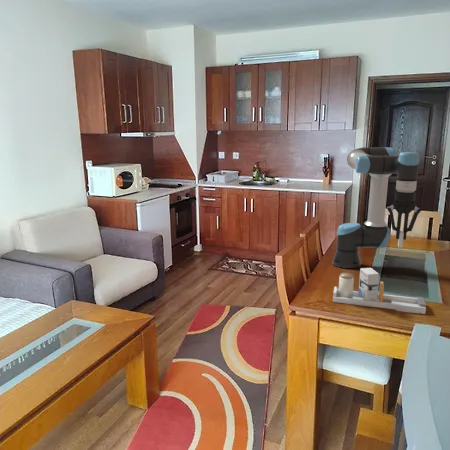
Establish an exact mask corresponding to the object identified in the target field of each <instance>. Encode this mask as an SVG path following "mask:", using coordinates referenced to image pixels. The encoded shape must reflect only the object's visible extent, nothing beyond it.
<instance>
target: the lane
mask: <svg viewBox="0 0 450 450" xmlns="http://www.w3.org/2000/svg"><path fill="white" fill-rule="evenodd" d="M338 292H339V288H338V286H334V287H333V293H332V294H333V295H332V302H333V303H337V304H338V303H339V304H348V305H357V306H363V307H365V306H366V307H374V308H382V309H390V310H395V311H396V312H403V313H411V314H413V313H414V314H420V313H421V314H422V315H426V311H427V307H426V306H427V304H426V302H425V299H424V297H423V296H417V297H412V296H402V295H394V294H386V293H384V295H383V299H391V300H392V303H387V302H379V293H378V294H377V300H369V301H366V300H365V299H364V298H363V297H362V296H361V295H360V294H359V293H358V292H359V290H358V291H355V290H353V299H352V298H343V297H338ZM421 314H420V315H421Z"/></svg>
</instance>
